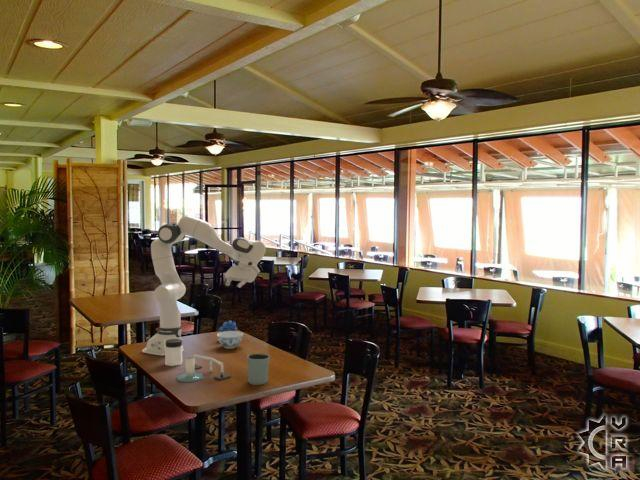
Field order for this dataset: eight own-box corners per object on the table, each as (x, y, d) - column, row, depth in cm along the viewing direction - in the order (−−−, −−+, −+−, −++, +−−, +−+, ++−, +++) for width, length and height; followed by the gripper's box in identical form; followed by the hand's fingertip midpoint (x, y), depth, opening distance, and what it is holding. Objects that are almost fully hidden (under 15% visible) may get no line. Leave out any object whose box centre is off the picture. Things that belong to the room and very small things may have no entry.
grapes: (235, 337, 315) (235, 318, 315) (238, 339, 309) (238, 320, 309) (216, 339, 310) (216, 319, 310) (219, 341, 304) (219, 322, 304)
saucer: (172, 380, 232) (172, 379, 232) (185, 373, 244) (185, 371, 244) (195, 383, 229) (195, 381, 229) (207, 375, 241) (207, 374, 241)
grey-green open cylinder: (243, 380, 233) (243, 355, 233) (262, 376, 239) (262, 351, 239) (253, 386, 225) (254, 360, 225) (273, 382, 231) (273, 356, 231)
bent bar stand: (185, 368, 251) (185, 354, 250) (195, 366, 255) (195, 352, 255) (220, 380, 233) (220, 365, 233) (230, 377, 238) (230, 362, 237)
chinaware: (247, 348, 290) (247, 335, 289) (222, 352, 282) (222, 338, 281) (236, 342, 302) (236, 330, 302) (213, 345, 294) (213, 332, 294)
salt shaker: (184, 377, 235) (184, 358, 235) (188, 375, 239) (188, 356, 238) (191, 378, 234) (191, 359, 234) (196, 375, 238) (196, 357, 237)
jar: (167, 361, 263) (167, 338, 262) (183, 361, 264) (183, 338, 263) (163, 366, 254) (163, 343, 253) (180, 366, 255) (180, 342, 254)
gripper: (230, 261, 277) (216, 280, 270) (256, 263, 264) (242, 284, 257) (237, 268, 281) (223, 287, 274) (262, 271, 268) (248, 291, 261)
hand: (232, 286), depth 265 cm, fingers open, 8 cm apart
